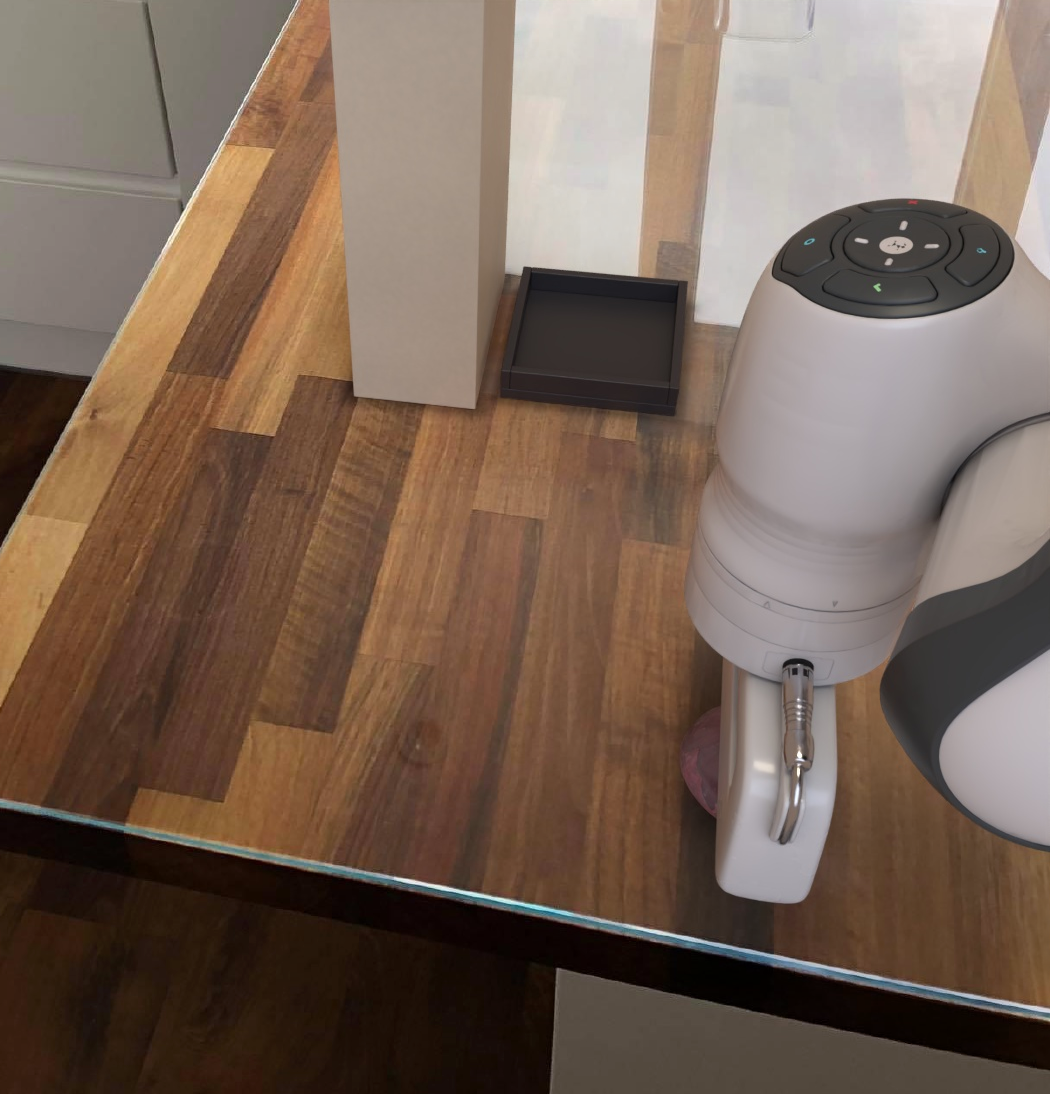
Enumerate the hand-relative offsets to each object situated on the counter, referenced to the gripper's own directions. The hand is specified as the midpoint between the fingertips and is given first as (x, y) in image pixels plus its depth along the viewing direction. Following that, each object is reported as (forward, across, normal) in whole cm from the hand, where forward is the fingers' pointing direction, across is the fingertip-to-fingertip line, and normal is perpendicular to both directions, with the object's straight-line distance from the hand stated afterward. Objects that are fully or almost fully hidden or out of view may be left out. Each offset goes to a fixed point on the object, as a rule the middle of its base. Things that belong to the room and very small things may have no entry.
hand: (743, 766), depth 65 cm
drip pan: (+4, +34, +10) cm, 36 cm away
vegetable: (+4, 0, 0) cm, 4 cm away
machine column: (+4, +34, +21) cm, 40 cm away
